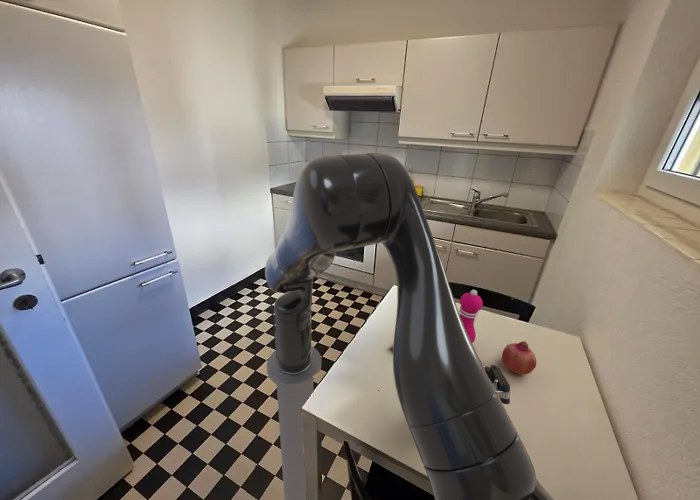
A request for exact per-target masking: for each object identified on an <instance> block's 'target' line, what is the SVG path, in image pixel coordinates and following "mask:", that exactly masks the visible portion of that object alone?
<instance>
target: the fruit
mask: <svg viewBox="0 0 700 500" xmlns="http://www.w3.org/2000/svg"><path fill="white" fill-rule="evenodd" d="M501 361H502V363H503V365H504V366H505V367H506V368H507V369H508V370H509V371H511V372H513V373H516V374H519V375H524V376H525V375H528V374H530V373H532V372H533V371H534V370H535V369H536V367H537V358H536V354H535V352H533V350H532V349H531V348H530V347H529V344H528V342H527V341H526V340H523V341H520V342H514V343H509V344H507V345H505V347H504V348H503V350H502V353H501Z"/></svg>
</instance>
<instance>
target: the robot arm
mask: <svg viewBox="0 0 700 500" xmlns="http://www.w3.org/2000/svg"><path fill="white" fill-rule="evenodd" d="M377 244H382V245H383V247H384V248H385V250H386V253H388V256H389V258H390V261H391V262H392V265H393V268H394V271H395V277H396V284H397V291H396V292H397V294H396V295H397V302H396V317H395V326H394V335H393V346H392V347H393V352H392V371H393V379H394V386H395V390H396V394H397V395H396V396H397V399H398V402H399V405H400V408H401V411H402V413H403V415H404V418H405V421H406V424H407V426H408V429H409V431H410V434H411V437H412V439H413V443H414V444H415V448H416V449H417V452H418V454H419V458H420V459H421V462H422V464H423V468H424V470H425V473H426V475H427V478H428V481H429V483H430V484H429V485H430V487H431V490H432V494H433V497H434V500H555V499H554V497H552V496H551V494H549V493H548V491H547V490H546V489H545V488H544V486H543V485H542V484H541V483H540V481H539V480H538V478H537V476H536V470H535V467H534V465H533V462H532V458H531V457H530V455H529V453H528V450H527V449H526V447H525V445H524V443H523V441H522V439H521V436H520V435H519V433H518V431H517V429H516V427H515V426H514V423H513V422H512V419H511V417H510V415H509V414H508V412H507V410H506V408H505V406H504V405H510V404H511V385H510V383H509V382H508V380H507V378H506V377H505V375H504V373H503V372H502V369H501V368H500V367H499V366H498V365H496V364H492V365H490V366H486V363H483V361H482V360H481V359H480V357H479V356H478V354H477V351H476V349H475V347H474V345H473V343H471V340H470V338H469V336H468V333H467V331H466V329H465V326H464V324H463V322H462V319H461V316H460V312H459V309H458V306H457V304H456V301H455V297H454V295H453V292H452V289H451V286H450V282H449V280H448V278H447V277H448V276H447V274H446V272H445V268H444V265H443V262H442V258H441V256H440V252H439V249H438V246H437V244H436V241H435V239H434V236H433V234H432V231H431V228H430V225H429V222H428V219H427V216H426V213H425V210H424V208H423V205H422V202H421V199H420V196H419V194H418V191H417V189H416V186H415V184H414V181H413V180H412V177H411V176H410V173H409V172H408V170H407V169H406V168H405V165H404V164H403V163H402V162H401V161H400V160H399V159H398V158H396V157H395V156H394V155H392V154H388V153H384V152H383V153H382V152H366V153H365V152H364V153H353V154H352V153H351V154H350V153H349V154H337V155H335V154H333V155H324V156H320V157H317V158H313V159H311V160H309V161H308V162H307V163H306V164H305V165H304V166H303V167H302V169H301V170H300V172H299V174H298V176H297V179H296V182H295V185H294V190H293V193H292V198H291V205H290V210H289V216H288V220H287V222H286V225H285V228H284V230H283V232H282V233H281V236H280V237H279V239H278V242H277V245H276V248H275V250H274V251H273V252H272V253H271V254H270V255H269V256H268V257H267V259H266V262H265V268H264V276H265V281H266V284H267V286H268V288H269V289H270V290H271V291H272V292H273V293H278V294H280V293H281V294H282V293H283V294H282V295H280V296H279V297H278V298H277V299H276V300H275V301H274V305H273V306H274V307H273V309H274V324H275V331H274V343H275V350H276V359H277V365H278V368H279V370H280V371H281V372H283V373H284V374H287V375H298V374H301V373H303V372H305V371H306V370H307V369H308V368H309V367H310V365H311V362H312V357H311V354H312V351H311V346H312V306H313V287H314V278H317V277H318V276H320V275H322V274H323V273H324V272H325V271H327V270H328V269H329V268H330V266H331V265H332V264H333V262H334V260H335V258H336V253H339V252H344V251H347V250H355V249H357V248H364V247H368V246H373V245H377Z"/></svg>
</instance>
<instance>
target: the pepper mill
mask: <svg viewBox="0 0 700 500" xmlns="http://www.w3.org/2000/svg"><path fill="white" fill-rule="evenodd" d="M483 303H484V302H483V299H482V298H481V296H480V295H478V291H477V290H476V289H472V290H470V292H466V293H463V294H462V295H461V297H460V299H459V304H460V306H459V309H458V311H459V314H460V316H461V319H462V322H463V324H464V326H465V329H466V331H467V333H468V336H469V338H470V340H471V343H472V344H473V343H474V342H475V341H476V335H477V334H476V330H475V319H476V318H477V317H478V315H479V311H481V310H482V308H483V305H484V304H483Z"/></svg>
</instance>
